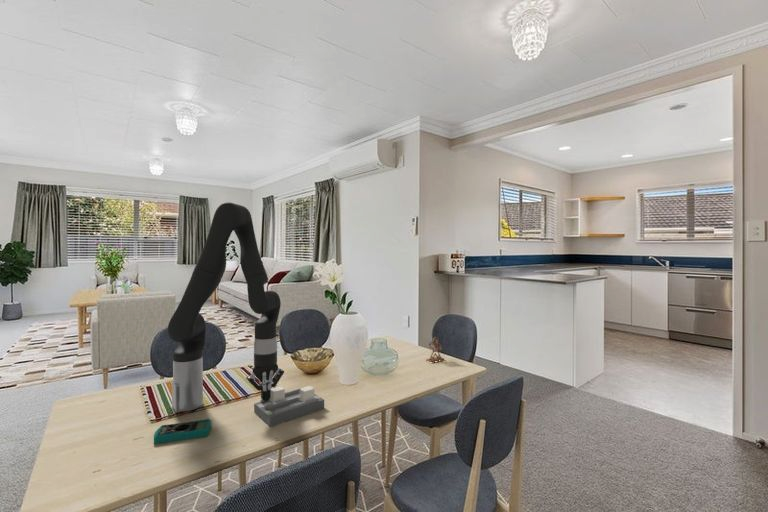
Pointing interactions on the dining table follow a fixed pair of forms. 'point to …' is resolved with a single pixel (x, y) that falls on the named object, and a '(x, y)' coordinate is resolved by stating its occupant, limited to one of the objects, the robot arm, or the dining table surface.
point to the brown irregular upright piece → (435, 351)
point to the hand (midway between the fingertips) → (265, 400)
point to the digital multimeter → (182, 431)
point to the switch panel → (287, 408)
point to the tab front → (306, 393)
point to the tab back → (277, 394)
